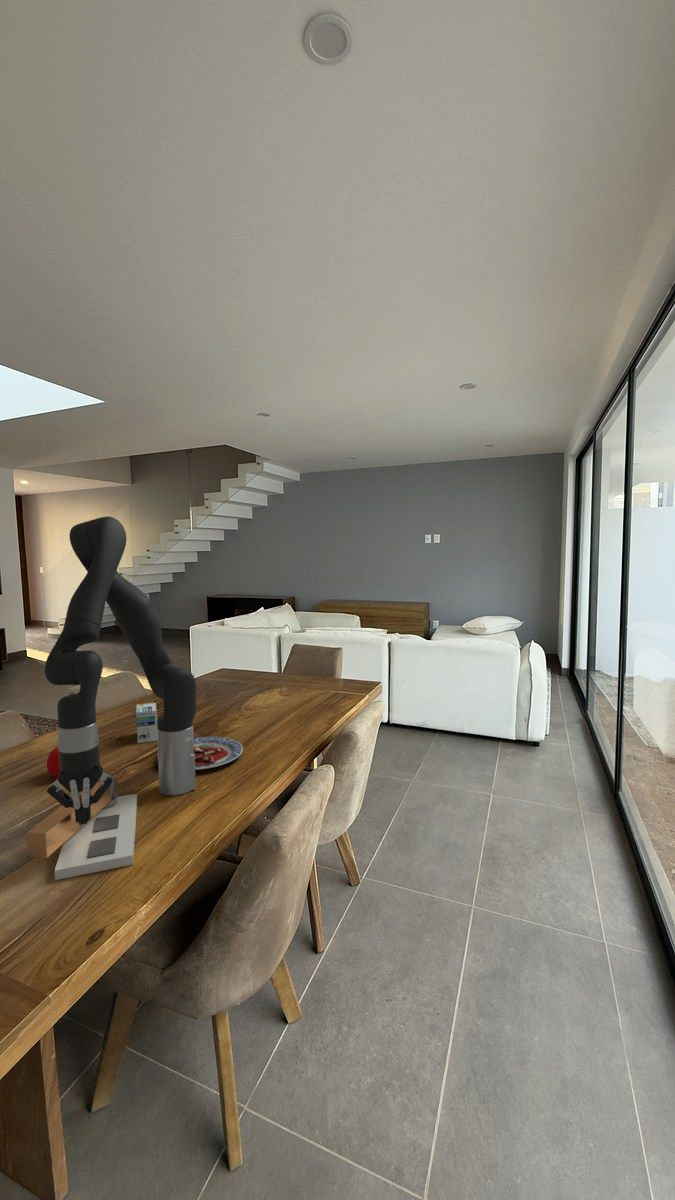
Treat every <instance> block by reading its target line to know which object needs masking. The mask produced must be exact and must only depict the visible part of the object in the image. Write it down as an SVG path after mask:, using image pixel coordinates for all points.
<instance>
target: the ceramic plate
mask: <svg viewBox="0 0 675 1200" xmlns="http://www.w3.org/2000/svg"><path fill="white" fill-rule="evenodd" d="M243 751H244V748H243V745H242V744H241V743H240V741H237V740H236V739H235V740H234V739H232V738H229V737H228V738H227V737H223V736H222V737H221V736H203V737H202V736H201V737H194V755H195V771H198V770H199V771H200V770H201V771H202V770H206V769H212V768H217V767H220V766H224V765H226V764H229V763H231V762H233V761H235V760H236V759H238V758H239V757H240V756H241V755H242V754H243Z"/></svg>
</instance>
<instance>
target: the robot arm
mask: <svg viewBox="0 0 675 1200" xmlns="http://www.w3.org/2000/svg"><path fill="white" fill-rule="evenodd" d="M69 543H70V544H71V545H70V546H71V547H72V550H73V552H74V554H75V556H76V557H77V559H78V561H79V562H80V563H81V564H82V566H83V567H84V569H85V570H86V572H87V573H86V575H85V576H84V578H83V579H82V581H81V582H80V584H79V585H78V586H77V587H76V589H75V590H74V593H73V595H71V596H72V597H71V598H70V601H69V602H68V607H67V611H66V615H65V620H64V624H63V628H62V630H61V633H60V634H59V635H58V638H57V640H56V642H55V644H54V645H53V647H52V648H51V650H50V651H49V654H48V656H47V658H46V661H45V664H44V675H45V678H46V679H47V681H48V683H50V684H52V685H53V686H54V685H55V686H69V685H70V686H74V685H75V686H77V685H79V686H80V687H79V691H78V692H77V693H72V694H67V695H64V696H63V697H61V698H60V699H59V700H58V702H57V707H56V708H57V722H58V725H57V726H58V729H57V730H58V732H57V747H58V748H59V764H60V773H59V775H58V778H56V780H55V781H54V782H50V783H49V785H48V787H47V790H46V792H47V793H48V794H49V795H50V796H51V797H53V798H54V800H56V801H57V802H58V803H59V804H60V805H61V806H62V805H63V806H64V807H65V808H69V807H72V808H74V809H75V821H76V823H79V825H83V824H87V822H88V821H89V820H90V817H91V804H93V803H97V802H98V801H99V800H100V798H101V797H102V796H103V794H104V793H105V791H106V790H107V789H108V787H109V786H110V785H111V783H112V782H113V775H114V774H113V773H109V774H108V773H106V772H104V769H103V767H102V766H101V759H100V758H101V757H100V756H101V755H100V740H99V729H98V724H97V723H98V722H97V709H96V708H97V707H96V701H97V694H98V688H99V686H100V681H101V678H102V677H101V676H102V674H103V669H104V666H103V665H104V664H103V660H102V657H101V656H100V654H99V653H98V652H96V651H94V650H78V649H79V648H80V647H82V646H85V645H89V644H91V643H94V642H96V641H97V640H98V639H99V637H100V634H101V633H100V632H101V627H102V621H103V618H104V616H103V615H104V611H105V606H106V603H107V606H108V607H109V609H110V612H111V613H112V615H113V617H114V618H115V621H116V623H117V625H118V627H119V628H120V630H121V632H122V634H123V635H124V636H125V638H126V641H127V642H128V644H129V645H130V648H131V649H132V650H133V653H134V654H135V655H136V657H137V659H138V661H139V662H140V664H141V667H142V669H143V673H144V675H145V677H146V679H147V682H148V685H149V687H150V689H151V691H152V693H153V694H154V695H155V696H156V698H159V699H161V700H163V714H160V715H159V716H157V734H158V741H157V762H158V787H159V788H158V790H159V793H160V794H162V795H165V796H179V795H184V794H187V793H189V792H191V791H194V790H196V788H197V786H196V784H197V783H196V770H195V755H194V738H195V737H194V718H195V716H196V711H197V682H196V678H195V676H194V674H193V672H191V671H190V670H187V669H185V668H181V667H178V666H176V665H175V663H174V662H173V661H172V659H171V657H170V656H169V654H168V653H167V650H166V649H165V647H164V643H163V634H162V625H161V624H162V623H161V621H160V618H159V615H158V613H157V611H156V610H155V608H154V606H153V604H152V602H151V600H150V599H149V597H148V596H147V595H146V594H145V593H144V592H143V591H142V590H141V589H139V588H138V587H137V586H136V585H134V584H133V583H131V582H130V581H129V580H127V579H126V578H125V577H124V576H122V574H121V573H120V572H119V571H118V567H119V565H120V563H121V560H122V558H123V555H124V552H125V549H126V545H127V532H126V529H125V528H124V525H123V524H122V523H121V521H119V520H118V519H117V518H115V517H113V516H101V517H96V518H95V519H94V518H93V519H90V520H88V521H83V522H81V523H77V524H75V525H73V526H72V528H70V530H69ZM100 778H101V782H100V783H101V785H100V787H99V788H98V789H97V791H96V792H95V793H94V795H92V796H91V789H92V788H93V787H94V786H95V784H96V783H97V782H98V780H99V779H100ZM62 788H65V790H67V791H68V792H69V793H71V794H70V795H71V796H70V795H69V793H67V792H65V791H64V789H62ZM81 792H83V804H82V798H81Z"/></svg>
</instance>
